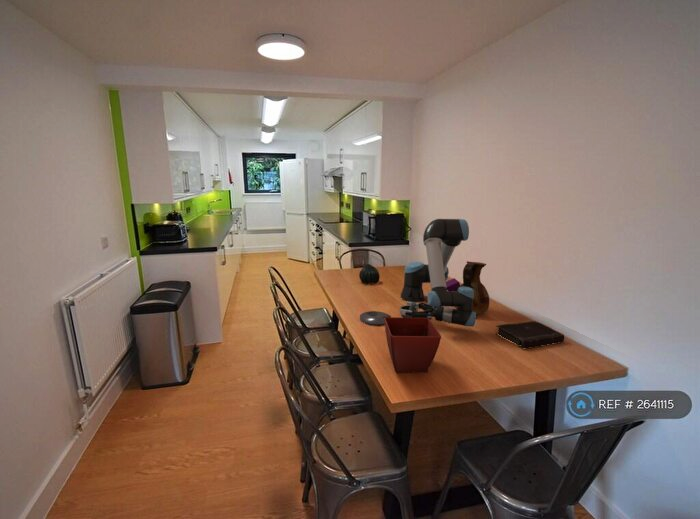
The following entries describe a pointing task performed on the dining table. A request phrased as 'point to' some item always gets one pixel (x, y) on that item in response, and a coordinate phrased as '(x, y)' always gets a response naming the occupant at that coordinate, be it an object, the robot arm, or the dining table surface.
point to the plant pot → (411, 343)
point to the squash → (369, 274)
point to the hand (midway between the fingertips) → (403, 307)
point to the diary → (530, 334)
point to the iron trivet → (374, 318)
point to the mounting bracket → (452, 285)
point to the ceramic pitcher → (476, 286)
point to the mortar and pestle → (410, 308)
